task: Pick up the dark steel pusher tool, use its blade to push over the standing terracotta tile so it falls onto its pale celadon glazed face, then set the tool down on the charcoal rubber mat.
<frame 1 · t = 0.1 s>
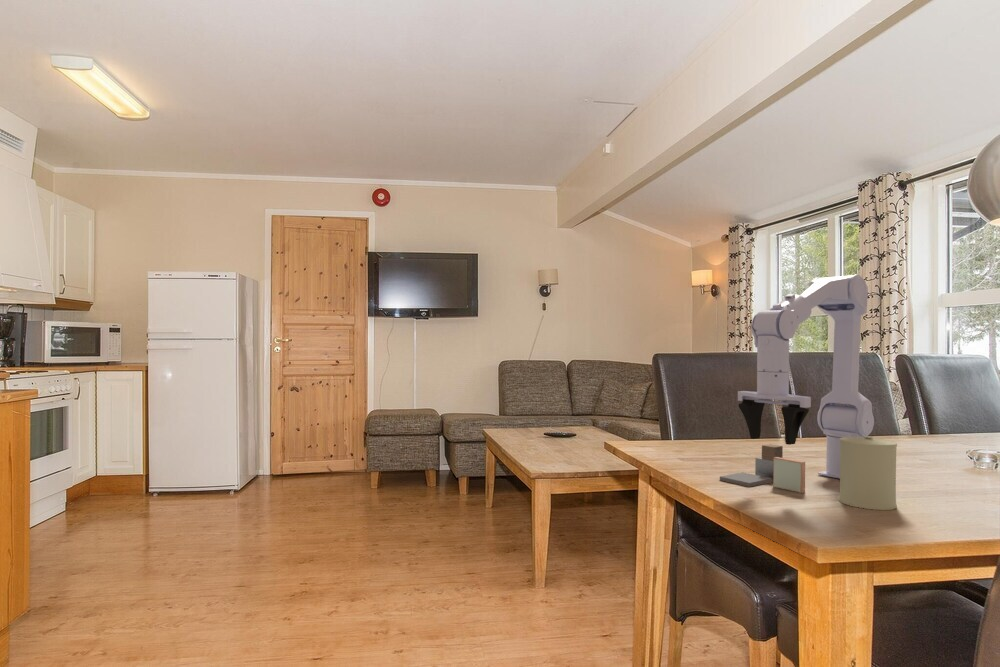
hand: (772, 441, 123), 10 cm above the table, fingers open, 7 cm apart
can: (867, 504, 116), on the table
tile: (788, 489, 126), on the table
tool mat: (745, 481, 132), on the table
pusher tool: (771, 478, 136), on the table
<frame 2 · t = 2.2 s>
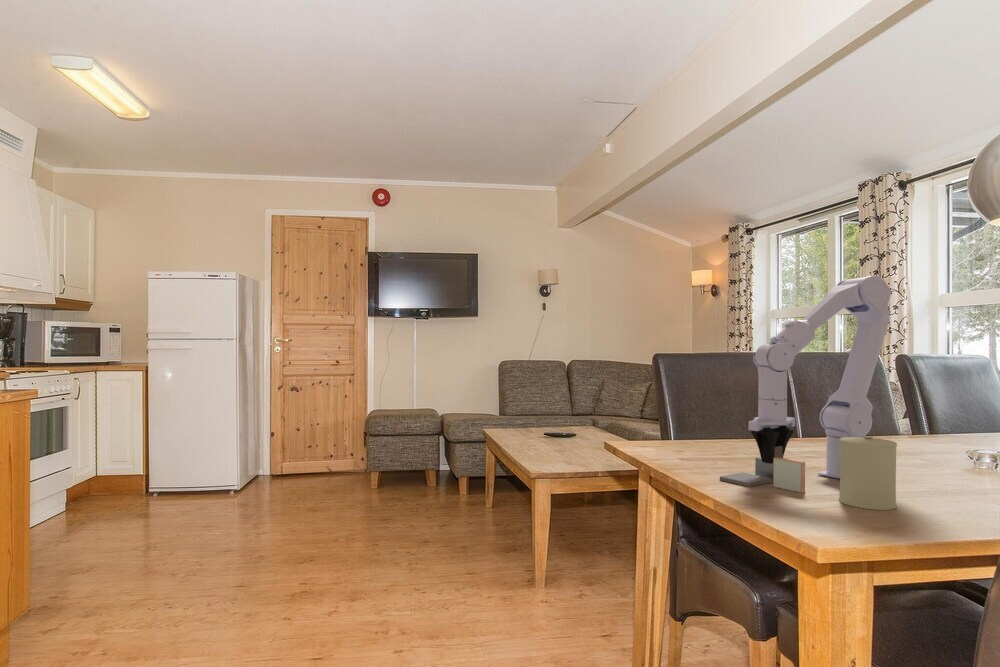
hand: (772, 461, 136), 3 cm above the table, fingers closed on pusher tool, 3 cm apart
pusher tool: (771, 477, 136), on the table, touching gripper
everything else where it was.
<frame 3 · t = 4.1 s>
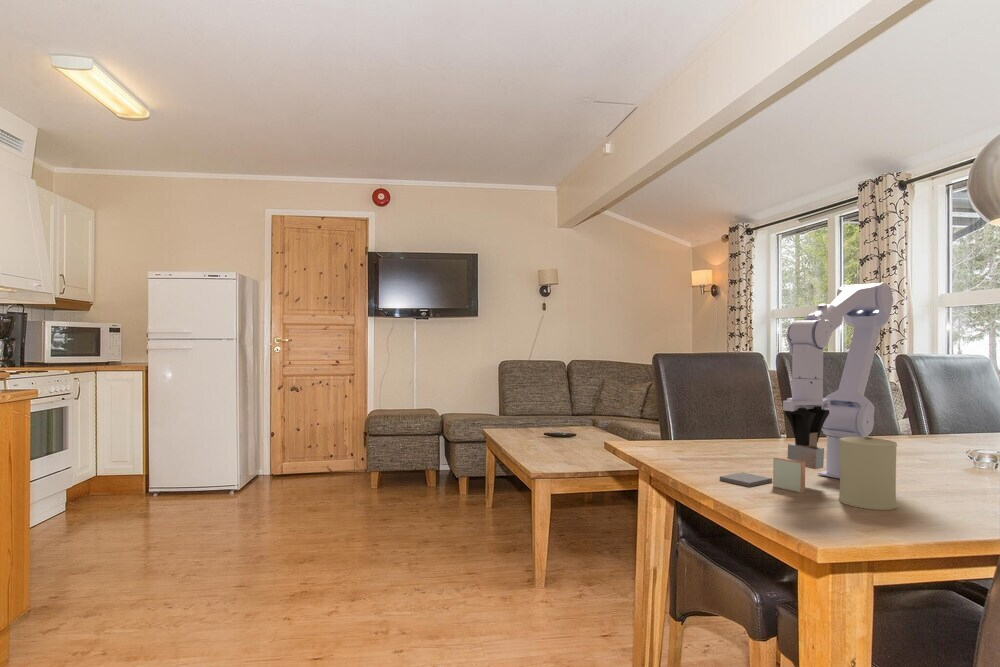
hand: (806, 444, 129), 8 cm above the table, fingers closed on pusher tool, 3 cm apart
pusher tool: (805, 465, 130), point 4 cm above the table, touching gripper
everything else where it was.
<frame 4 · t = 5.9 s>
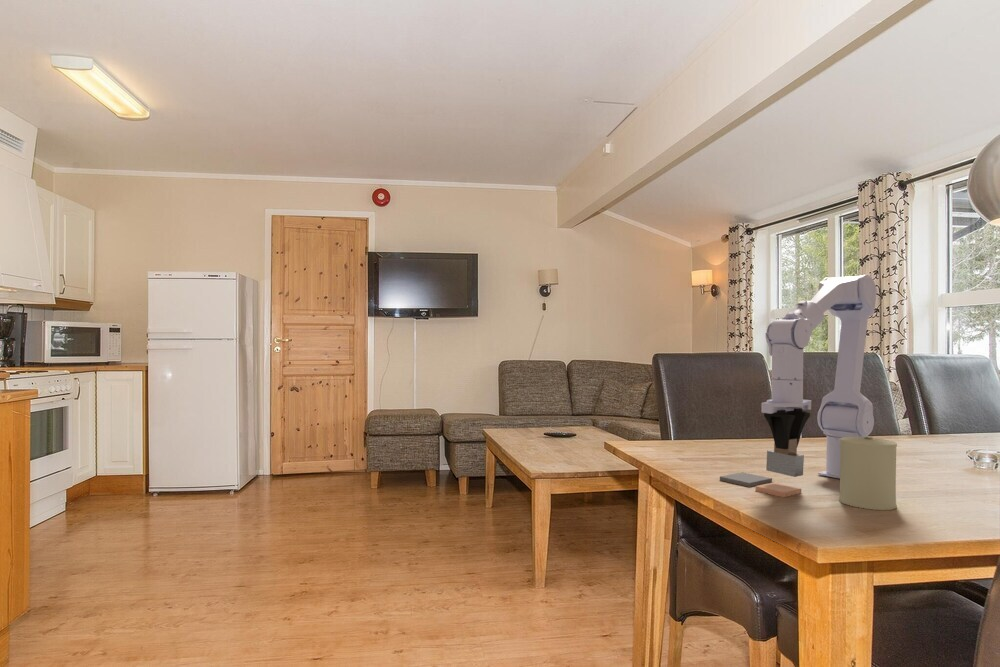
hand: (786, 447, 125), 8 cm above the table, fingers closed on pusher tool, 3 cm apart
tile: (786, 488, 125), on the table, tilted 90°
pusher tool: (784, 472, 125), point 3 cm above the table, touching gripper
everything else where it was.
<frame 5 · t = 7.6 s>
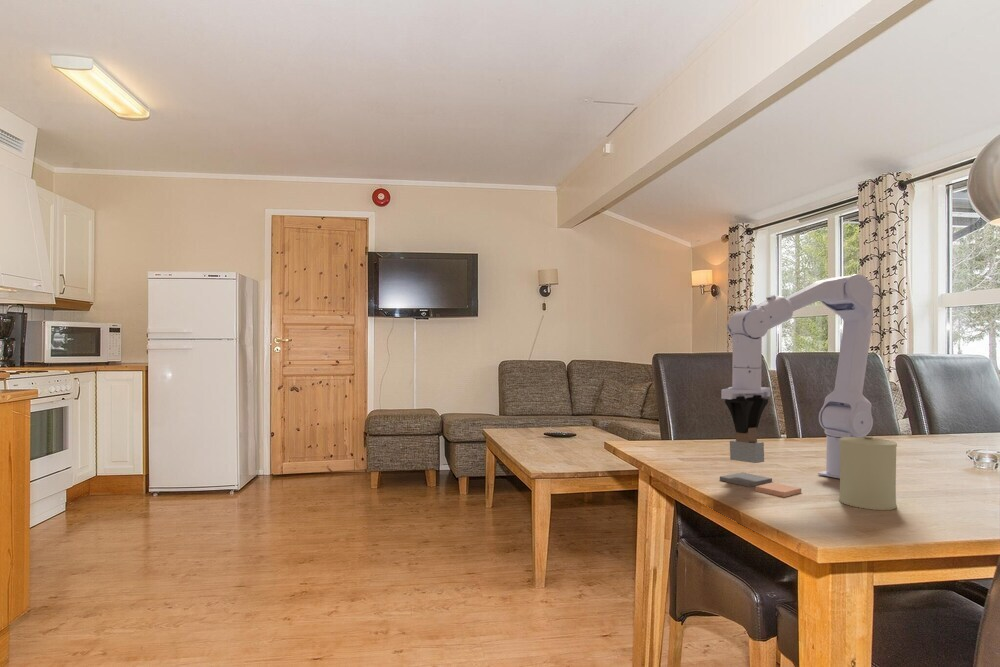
hand: (746, 432, 133), 10 cm above the table, fingers closed on pusher tool, 3 cm apart
pusher tool: (747, 460, 132), point 4 cm above the table, touching gripper
everything else where it was.
when the fingers open (5 cm above the table, at t = 8.8 s): pusher tool stays where it is, resting on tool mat.
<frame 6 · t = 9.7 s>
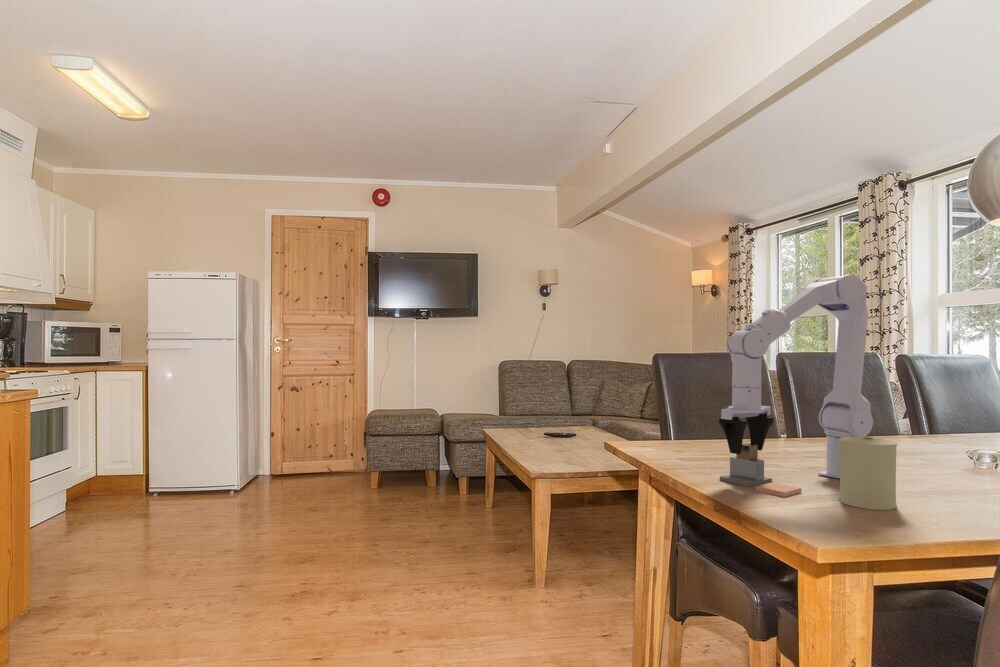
hand: (746, 451, 133), 6 cm above the table, fingers open, 7 cm apart
pusher tool: (746, 477, 132), point 1 cm above the table, touching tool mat
everything else where it was.
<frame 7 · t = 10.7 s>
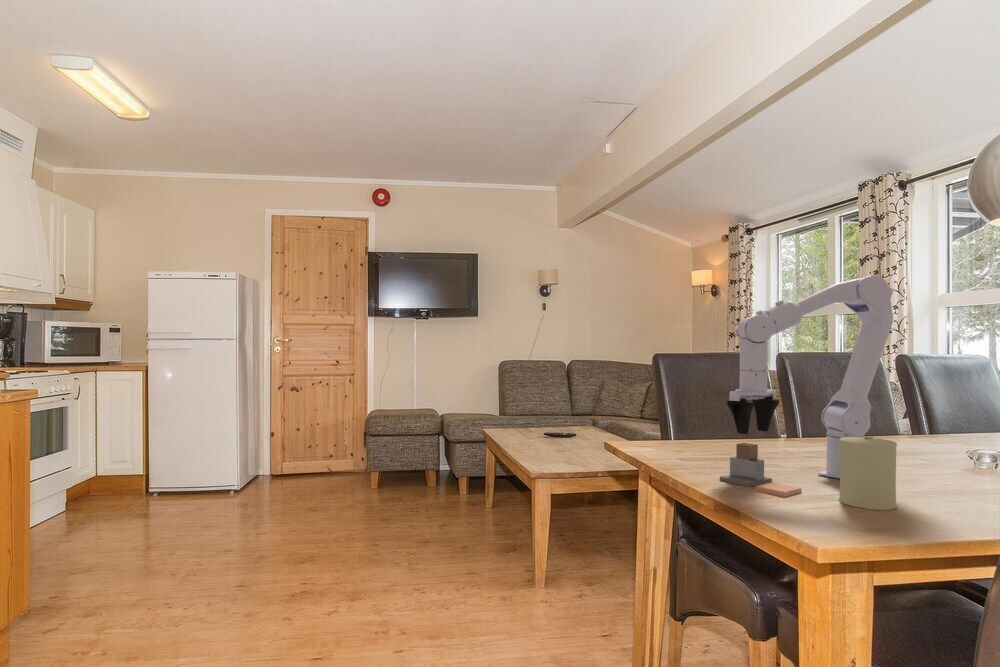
hand: (752, 432, 139), 9 cm above the table, fingers open, 7 cm apart
nothing on the table moved.
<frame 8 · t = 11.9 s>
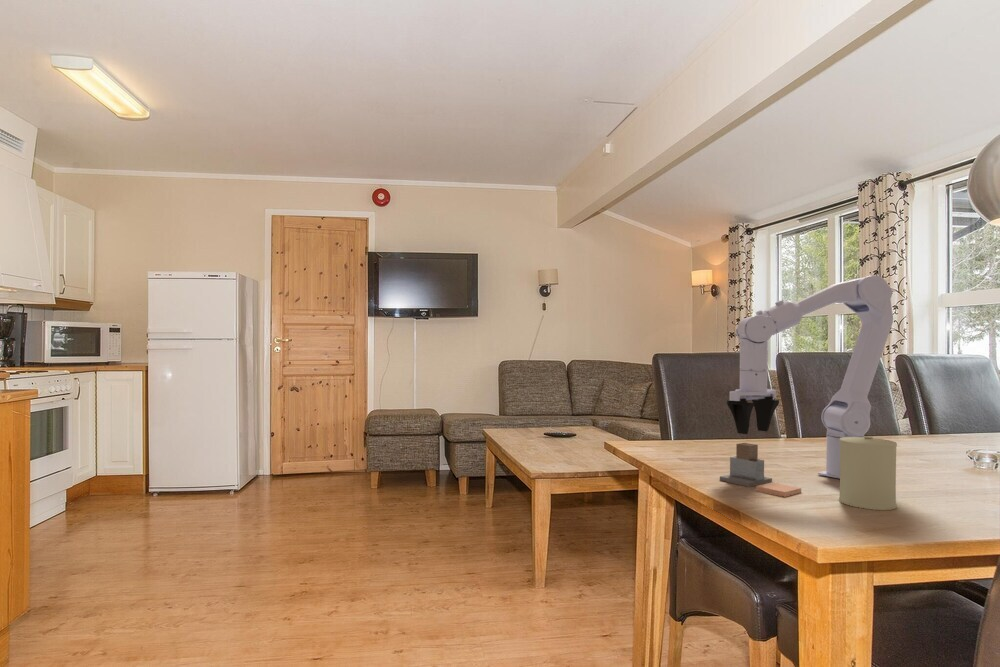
hand: (752, 432, 139), 9 cm above the table, fingers open, 7 cm apart
nothing on the table moved.
at the end: tile tilted 90°; pusher tool 0.3 cm off-centre on the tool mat, point 0.8 cm above the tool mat's base; pusher tool tilted 0° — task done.
